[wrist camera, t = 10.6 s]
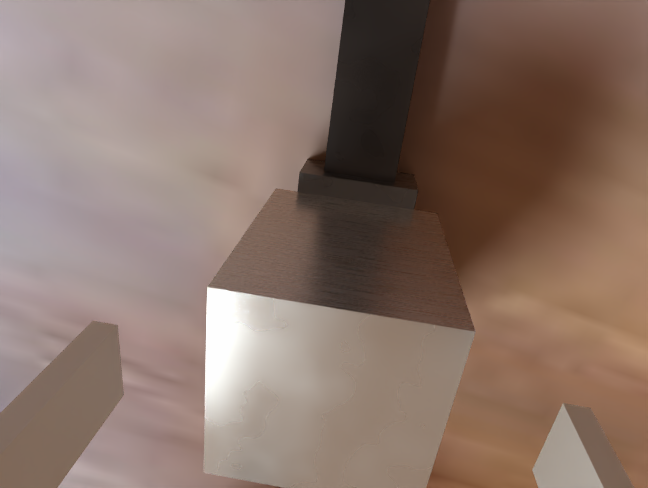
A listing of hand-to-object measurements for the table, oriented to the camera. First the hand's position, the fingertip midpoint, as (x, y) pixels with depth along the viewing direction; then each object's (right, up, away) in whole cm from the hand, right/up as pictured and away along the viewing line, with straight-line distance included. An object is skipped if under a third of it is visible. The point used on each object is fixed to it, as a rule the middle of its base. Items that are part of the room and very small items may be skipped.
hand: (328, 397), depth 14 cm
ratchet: (+2, +9, +8) cm, 12 cm away
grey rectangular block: (+1, +3, +8) cm, 9 cm away
